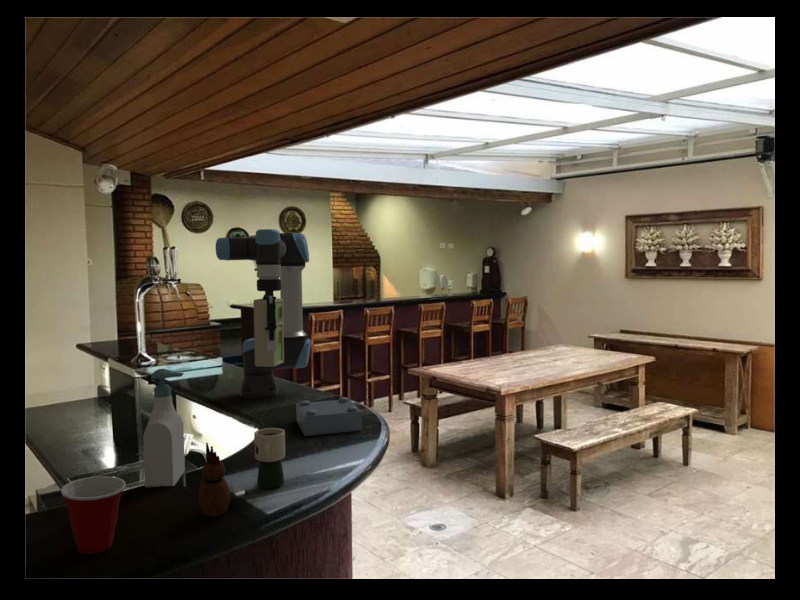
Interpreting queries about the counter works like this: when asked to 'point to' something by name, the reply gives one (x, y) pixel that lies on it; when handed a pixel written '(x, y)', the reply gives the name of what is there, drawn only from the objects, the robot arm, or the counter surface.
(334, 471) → the counter surface
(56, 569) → the counter surface
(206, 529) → the counter surface
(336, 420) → the base brick
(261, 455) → the character mug
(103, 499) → the plastic cup
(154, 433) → the white spray bottle
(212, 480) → the wooden figurine
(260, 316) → the toy refrigerator
